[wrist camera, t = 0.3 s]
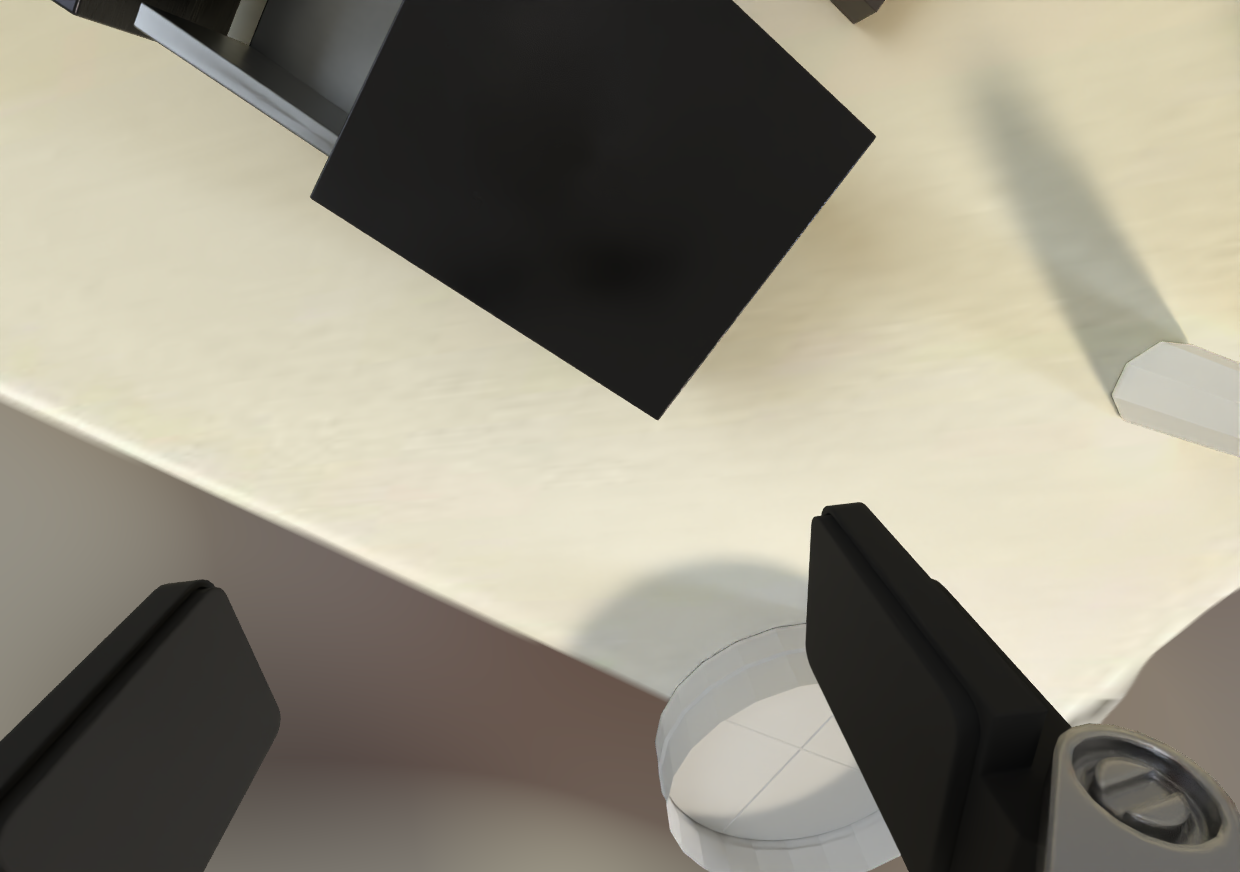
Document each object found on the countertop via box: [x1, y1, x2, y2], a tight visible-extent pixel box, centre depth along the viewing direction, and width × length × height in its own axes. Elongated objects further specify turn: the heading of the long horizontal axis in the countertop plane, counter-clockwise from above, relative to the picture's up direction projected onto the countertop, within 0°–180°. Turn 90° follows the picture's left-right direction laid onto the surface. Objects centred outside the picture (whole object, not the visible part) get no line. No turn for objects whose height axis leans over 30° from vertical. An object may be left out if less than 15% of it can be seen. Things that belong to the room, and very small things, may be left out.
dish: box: [655, 624, 901, 872], centre depth 43 cm, size 22×22×5 cm
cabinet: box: [310, 0, 876, 420], centre depth 24 cm, size 15×13×10 cm
